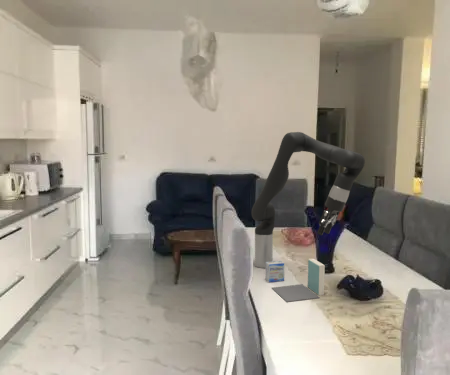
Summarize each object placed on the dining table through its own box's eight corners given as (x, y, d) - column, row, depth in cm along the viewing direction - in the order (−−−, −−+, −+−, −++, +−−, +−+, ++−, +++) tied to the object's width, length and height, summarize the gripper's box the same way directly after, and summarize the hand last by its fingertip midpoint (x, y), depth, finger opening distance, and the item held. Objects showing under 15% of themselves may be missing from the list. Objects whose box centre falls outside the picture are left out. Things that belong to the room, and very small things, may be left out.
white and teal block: (307, 287, 185) (308, 259, 183) (312, 286, 186) (313, 258, 184) (318, 295, 176) (319, 265, 174) (323, 294, 176) (324, 265, 175)
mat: (271, 288, 184) (271, 287, 184) (302, 285, 188) (302, 284, 188) (286, 302, 168) (286, 301, 168) (319, 298, 172) (319, 297, 172)
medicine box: (268, 282, 191) (268, 264, 190) (265, 279, 195) (265, 261, 194) (284, 281, 193) (284, 263, 192) (280, 277, 197) (280, 260, 196)
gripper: (334, 194, 178) (320, 229, 181) (323, 194, 166) (308, 231, 169) (350, 201, 174) (336, 236, 177) (340, 201, 162) (325, 239, 165)
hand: (322, 233), depth 173 cm, fingers open, 8 cm apart
